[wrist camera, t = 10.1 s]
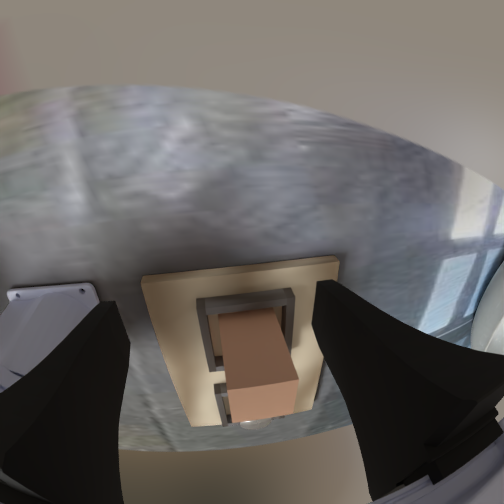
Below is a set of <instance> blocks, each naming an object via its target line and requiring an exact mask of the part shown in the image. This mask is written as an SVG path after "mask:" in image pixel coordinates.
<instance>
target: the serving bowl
mask: <svg viewBox="0 0 504 504" xmlns="http://www.w3.org/2000/svg"><path fill="white" fill-rule="evenodd" d="M471 349H474V350H478V351H483V352H489V353H496V354H502V355H504V261H503V263H502V264H501V265H500V267H499V268H498V270H497V271H496V273H495V274H494V276H493V278H492V279H491V281H490V283H489V285H488V287H487V288H486V290H485V292H484V295H483V297H482V299H481V301H480V303H479V306H478V308H477V311H476V314H475V317H474V320H473V324H472V329H471Z"/></svg>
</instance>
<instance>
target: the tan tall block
mask: <svg viewBox="0 0 504 504" xmlns="http://www.w3.org/2000/svg"><path fill="white" fill-rule="evenodd" d="M218 320H219V329H220V337H221V346H222V354H223V362H224V370H225V378H226V386H227V393H228V399H229V405H230V412H231V418H232V423H237V422H245V421H252V420H259V419H266V418H272V417H278V416H283V415H288V414H293V411H294V405H295V400H296V394H297V389H298V383H299V378H298V375H297V372H296V369H295V367H294V364H293V361H292V358H291V356H290V353H289V350H288V347H287V345H286V342H285V339H284V336H283V334H282V331H281V328H280V325H279V322H278V320H277V317H276V314H275V311H274V309H273V307H270V308H263V309H255V310H247V311H239V312H231V313H222V314H218Z"/></svg>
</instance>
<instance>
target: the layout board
mask: <svg viewBox="0 0 504 504" xmlns="http://www.w3.org/2000/svg"><path fill="white" fill-rule="evenodd" d="M339 263H340V261H339V260H338V259H337V258H336V257H335V255H331V256H322V257H314V258H305V259H296V260H288V261H279V262H270V263H261V264H252V265H243V266H234V267H224V268H215V269H205V270H196V271H186V272H176V273H166V274H156V275H146V276H143V277H142V280H141V287H142V291H143V294H144V298H145V301H146V305H147V308H148V311H149V315H150V318H151V321H152V324H153V327H154V331H155V334H156V337H157V340H158V343H159V346H160V348H161V351H162V354H163V357H164V360H165V362H166V365H167V368H168V371H169V373H170V376H171V378H172V381H173V384H174V386H175V389H176V391H177V394H178V396H179V399H180V401H181V403H182V406H183V408H184V410H185V413H186V415H187V417H188V420H189V422H190V424H191V426H192V427H195V426H209V425H220V424H222V426H223V427H224V426H233V425H240V422H237V423H232V418H231V412H230V405H229V399H228V393H227V386H226V378H225V370H224V362H223V354H222V346H221V337H220V329H219V320H218V314H222V313H231V312H239V311H247V310H255V309H263V308H270V307H273V309H274V311H275V314H276V317H277V320H278V322H279V325H280V328H281V331H282V334H283V336H284V339H285V342H286V345H287V347H288V350H289V353H290V356H291V358H292V361H293V364H294V367H295V369H296V372H297V375H298V378H299V383H298V389H297V394H296V400H295V405H294V411H293V413H297V412H302V411H306V410H311V409H312V405H313V401H314V397H315V393H316V389H317V385H318V380H319V376H320V372H321V367H322V362H323V358H324V357H323V354H322V352H321V350H320V348H319V346H318V343H317V340H316V337H315V334H314V331H313V328H312V325H311V322H312V315H313V307H314V299H315V291H316V282H317V281H322V280H330V279H333V280H334V281H336V282H337V278H338V270H339ZM284 417H285V415H283V416H278V417H272V418H271V419H272V420H274V419H279V418H284Z"/></svg>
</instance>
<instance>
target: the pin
mask: <svg viewBox="0 0 504 504" xmlns="http://www.w3.org/2000/svg"><path fill="white" fill-rule="evenodd" d="M271 421H272V419H271V418H266V419H259V420H252V421H245V422H240V426H241V427H242V428H244V429H250V430H253V429H260V428H263V427H265V426H267V425H269V424H270V423H271Z"/></svg>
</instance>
